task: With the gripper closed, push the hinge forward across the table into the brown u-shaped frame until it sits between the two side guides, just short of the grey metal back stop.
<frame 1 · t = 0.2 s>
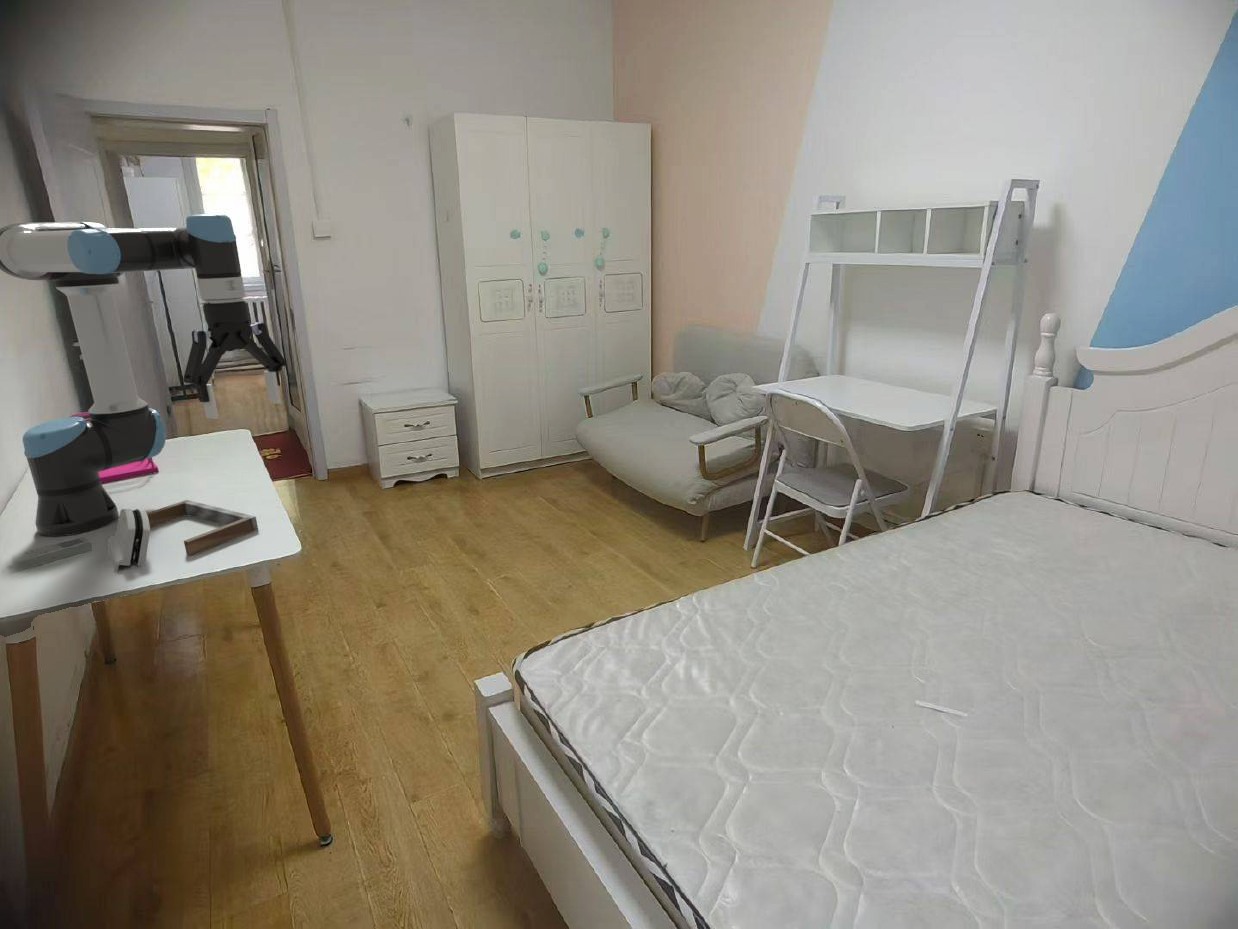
hand: (245, 410, 145), 28 cm above the table, tool pointing down, fingers open, 13 cm apart
brown u-shaped frame: (190, 532, 159), on the table
file sorter: (116, 470, 206), on the table
hinge: (133, 555, 149), on the table
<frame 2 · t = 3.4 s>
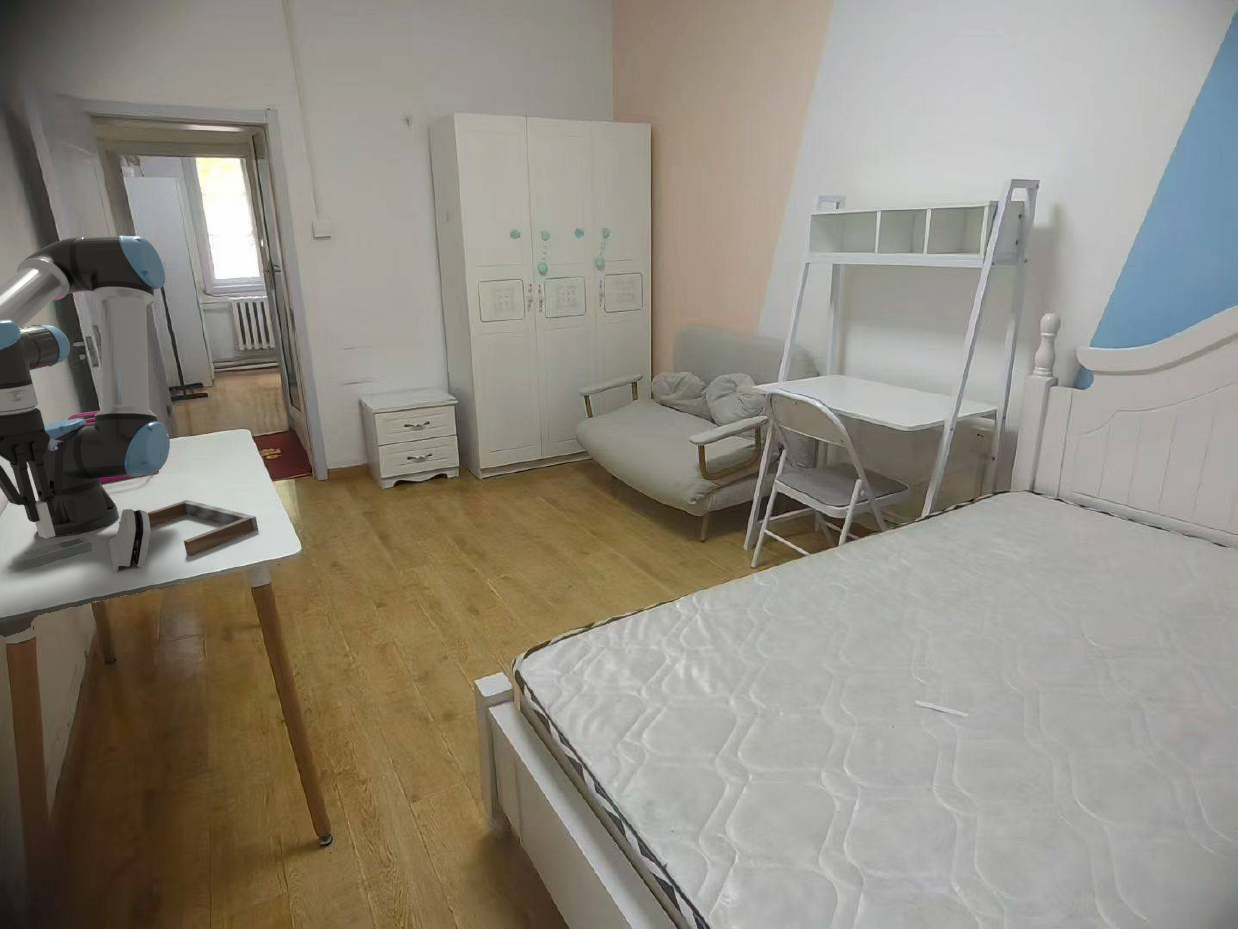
hand: (47, 535, 135), 9 cm above the table, tool pointing down, fingers closed
nothing on the table moved.
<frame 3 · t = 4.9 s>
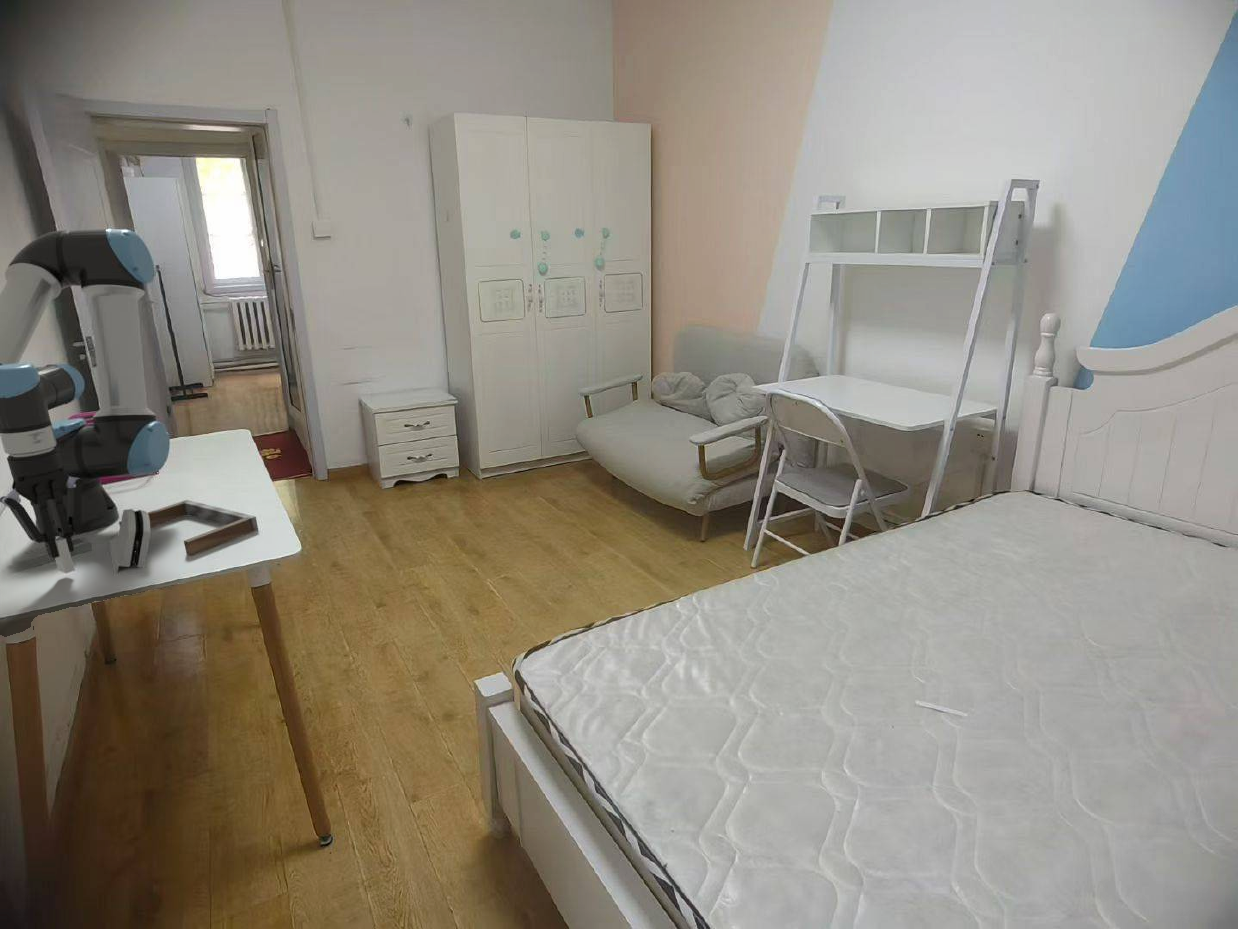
hand: (66, 570, 139), 1 cm above the table, tool pointing down, fingers closed
nothing on the table moved.
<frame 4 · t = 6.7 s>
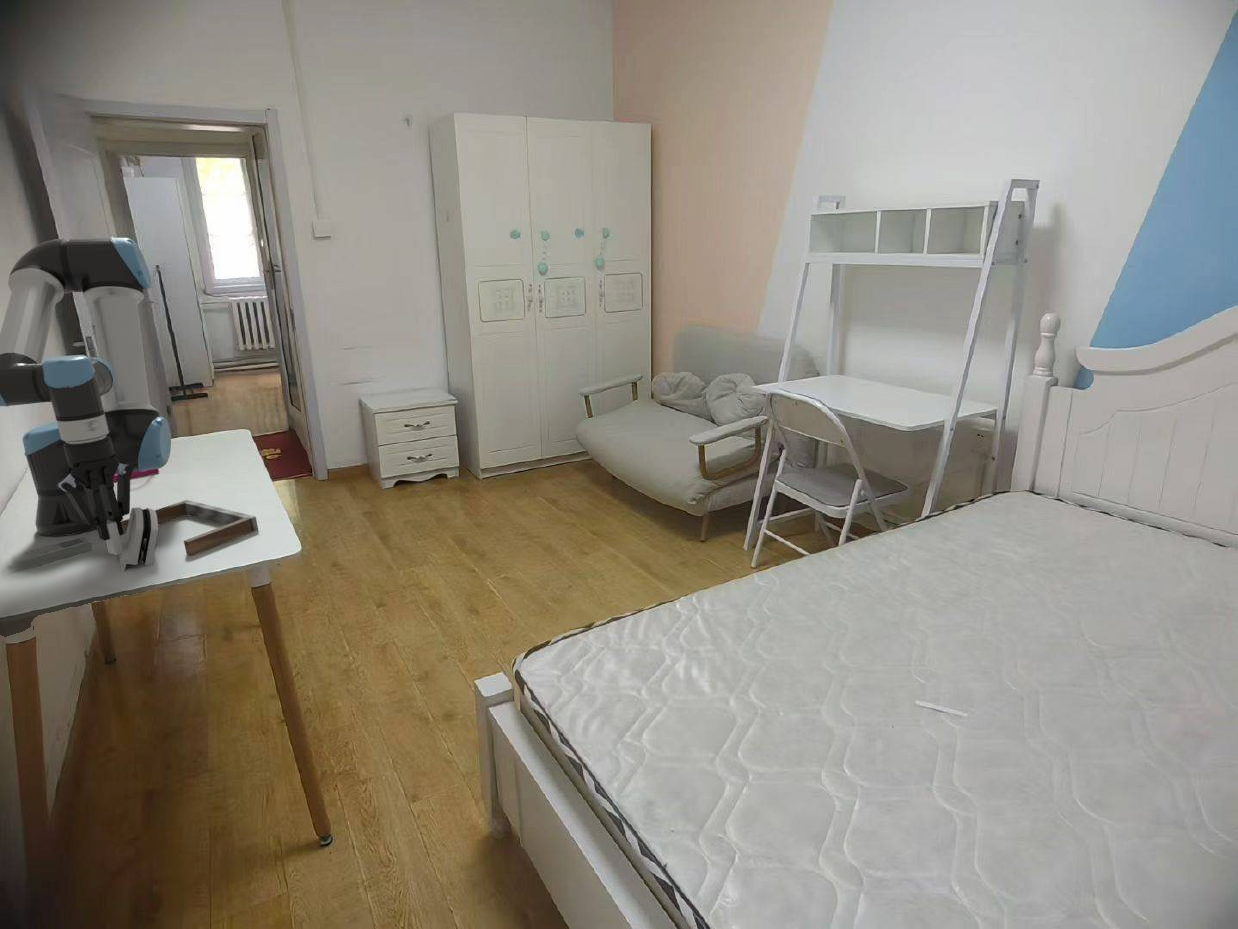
hand: (116, 552, 146), 1 cm above the table, tool pointing down, fingers closed
hinge: (142, 554, 150), on the table
everything else where it was.
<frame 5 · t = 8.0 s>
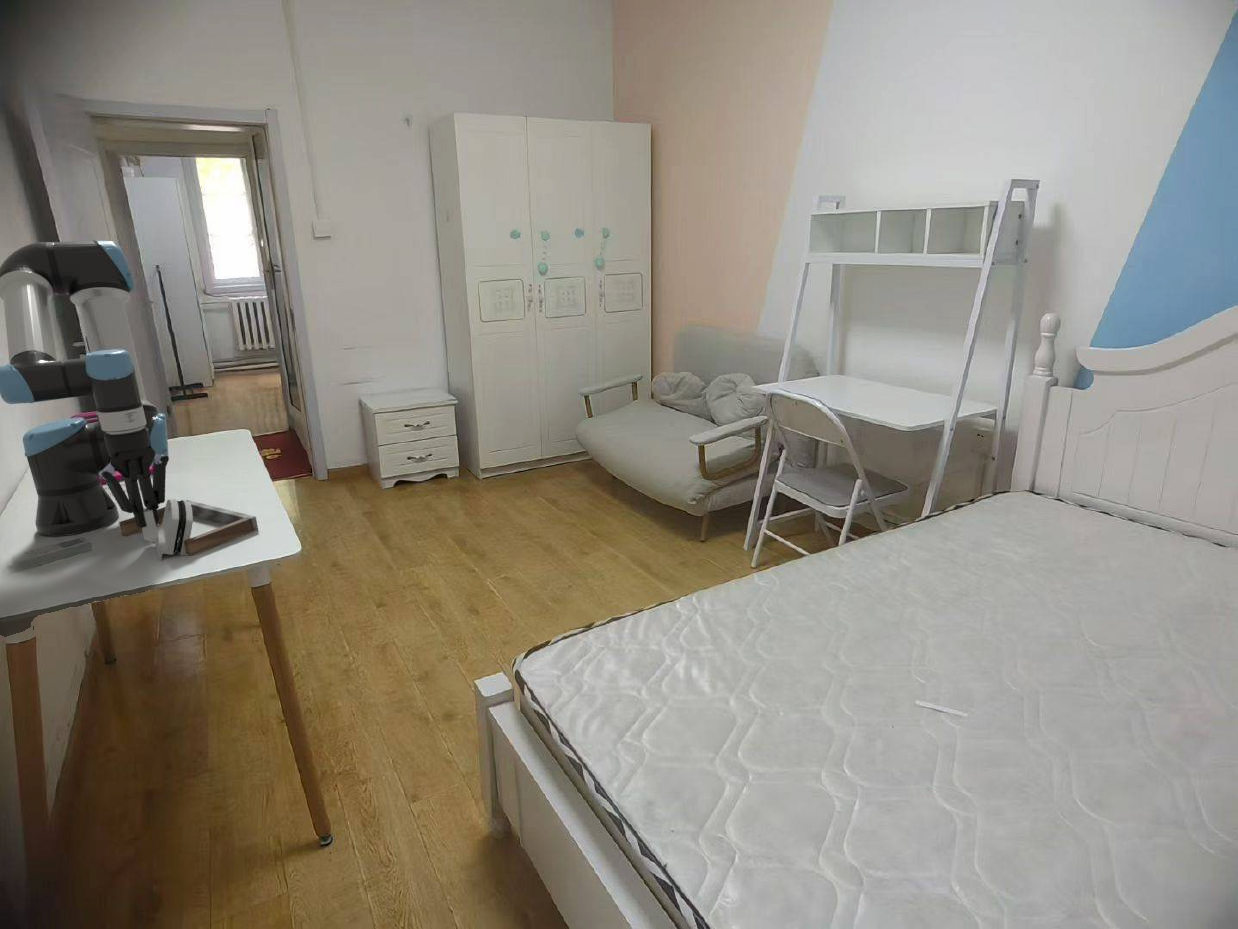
hand: (151, 539, 152), 1 cm above the table, tool pointing down, fingers closed
hinge: (177, 544, 154), on the table, touching gripper
everything else where it was.
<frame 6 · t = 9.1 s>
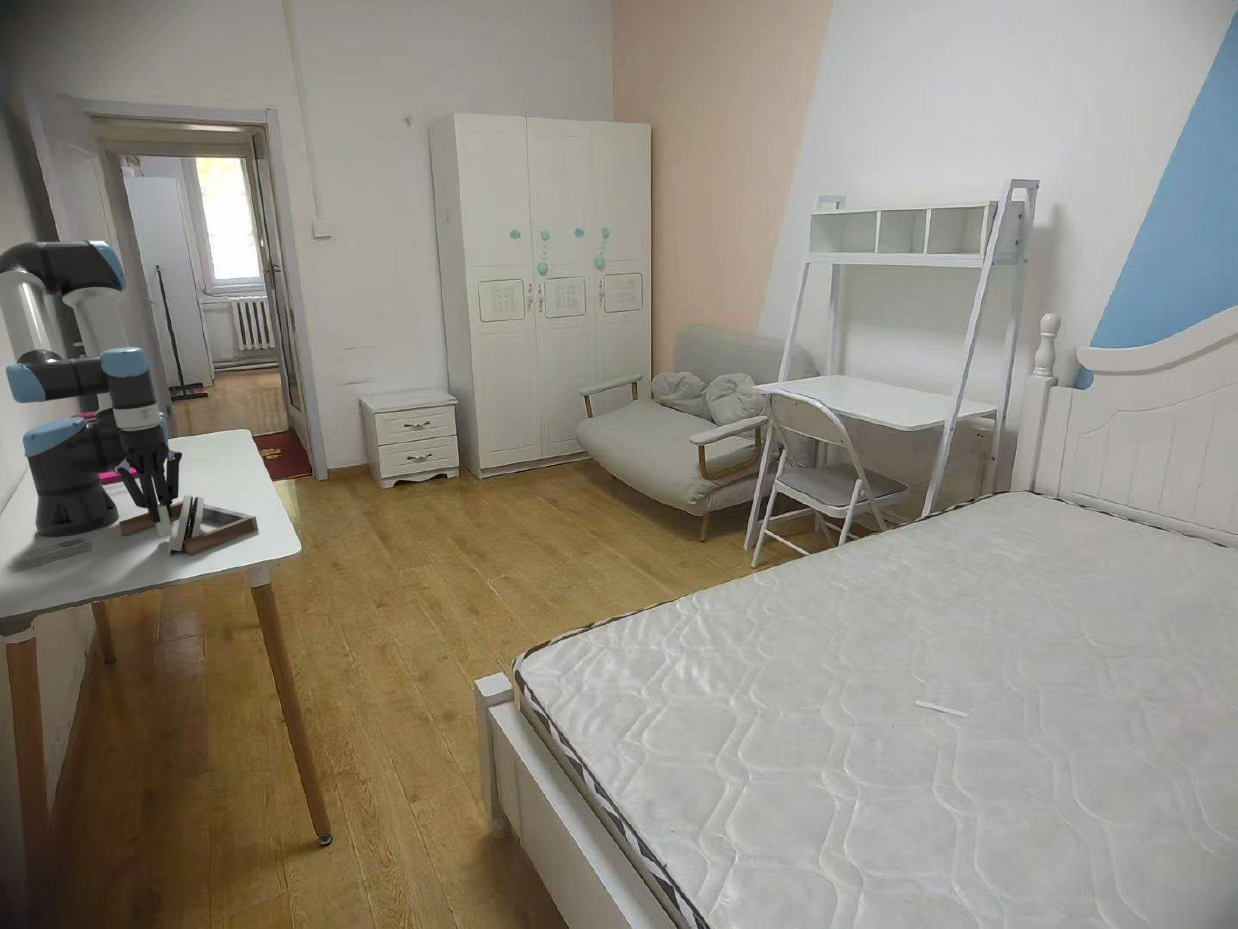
hand: (165, 534, 155), 1 cm above the table, tool pointing down, fingers closed
hinge: (190, 540, 156), on the table
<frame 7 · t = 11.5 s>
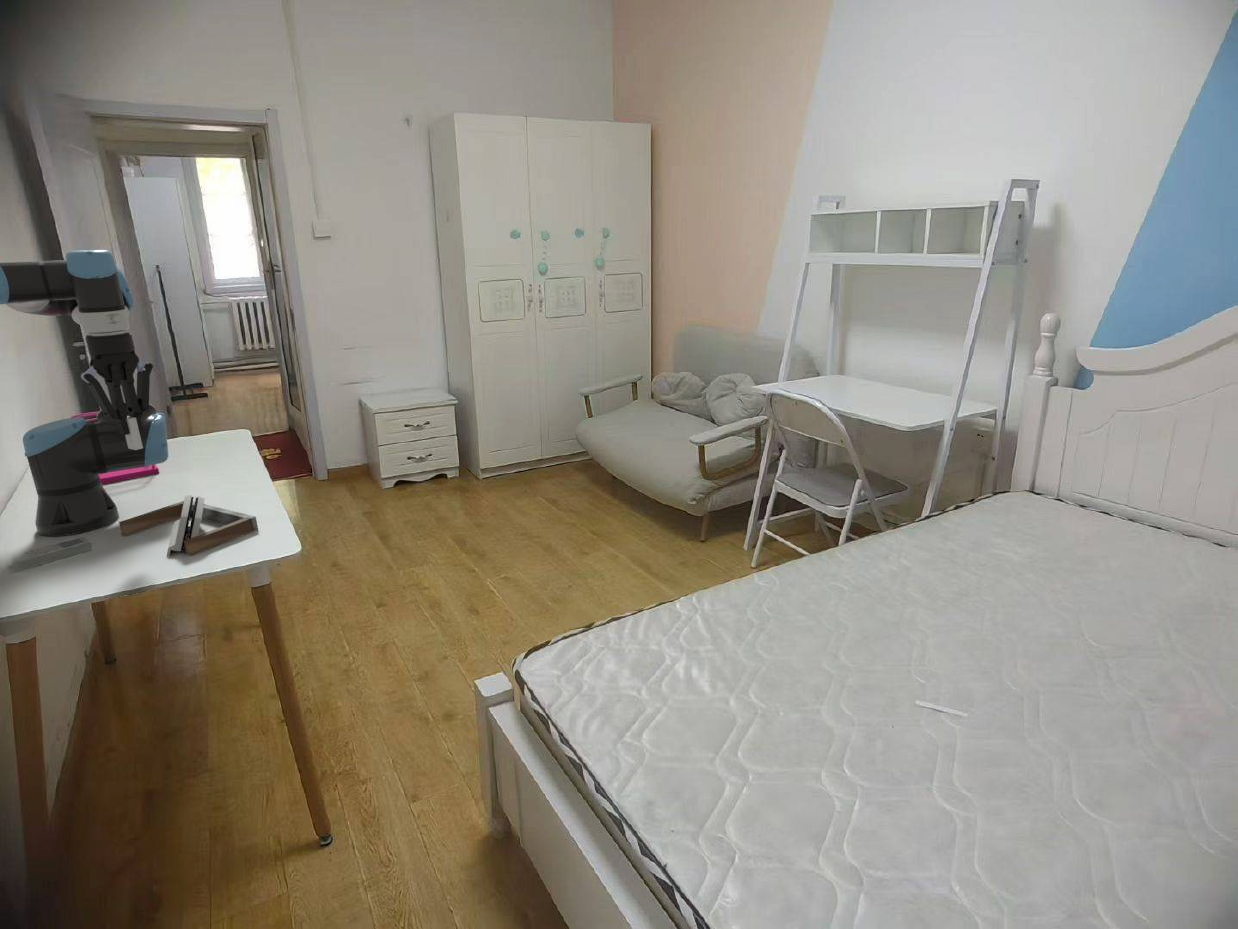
hand: (135, 448, 151), 20 cm above the table, tool pointing down, fingers closed
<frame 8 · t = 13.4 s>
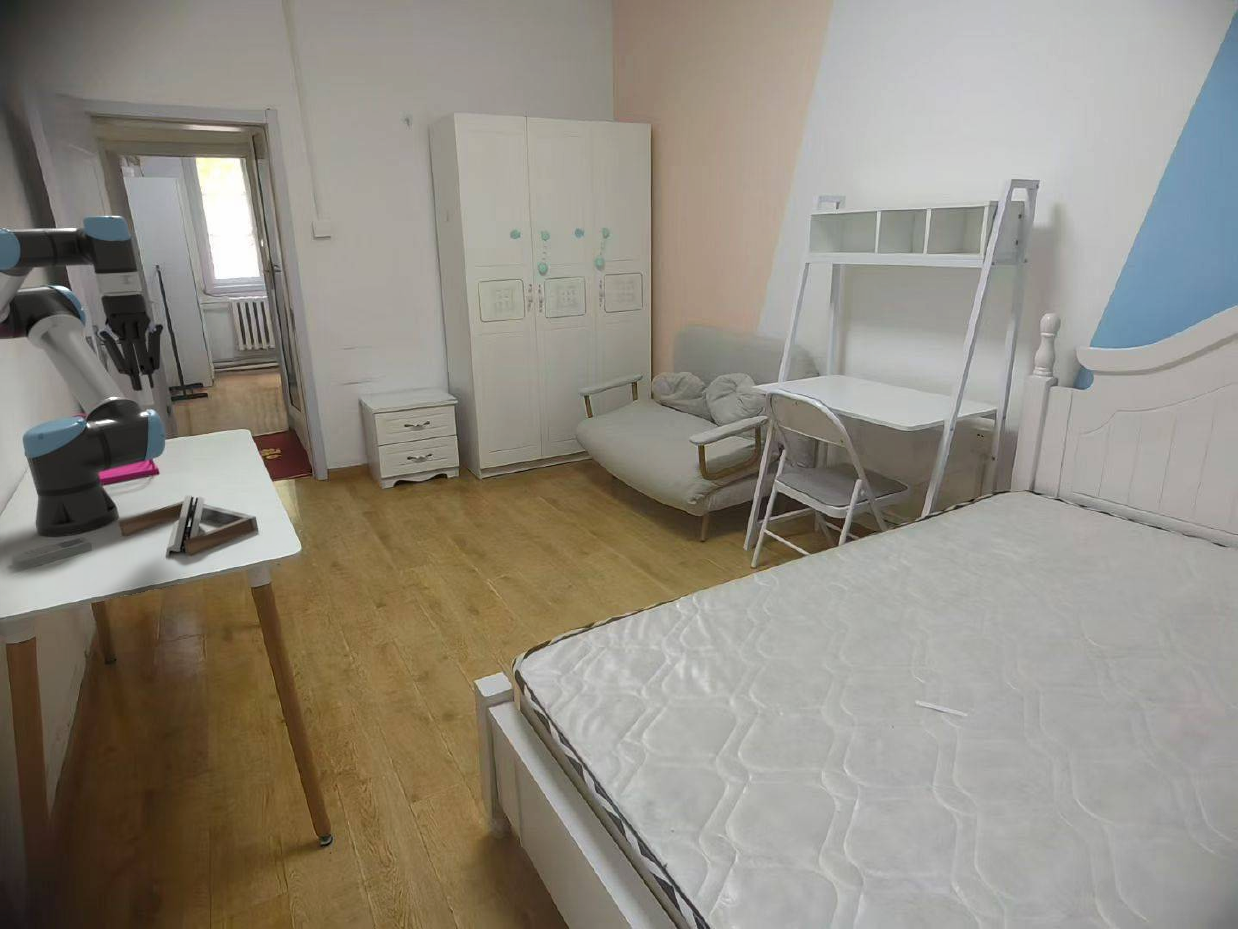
hand: (147, 404, 161), 26 cm above the table, tool pointing down, fingers closed
at the end: hinge inside the target area on the brown u-shaped frame (4.0 cm from its centre), point 0.0 cm above the brown u-shaped frame's base; hinge tilted 0°; hinge moved 10.4 cm from its start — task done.
